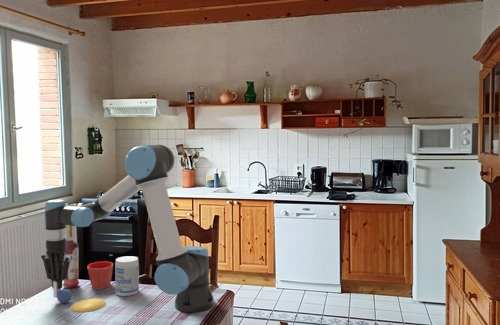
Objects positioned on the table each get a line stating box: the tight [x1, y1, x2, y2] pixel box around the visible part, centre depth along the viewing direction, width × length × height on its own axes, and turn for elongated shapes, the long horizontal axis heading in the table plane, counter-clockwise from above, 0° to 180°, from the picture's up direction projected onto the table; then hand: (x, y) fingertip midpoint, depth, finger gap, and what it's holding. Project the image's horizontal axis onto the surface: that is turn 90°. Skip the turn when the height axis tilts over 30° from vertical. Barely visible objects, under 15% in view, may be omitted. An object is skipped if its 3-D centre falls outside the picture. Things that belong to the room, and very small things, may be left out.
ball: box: [56, 288, 73, 304], centre depth 176 cm, size 6×6×6 cm
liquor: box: [62, 225, 80, 290], centre depth 194 cm, size 7×7×28 cm
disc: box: [70, 298, 107, 313], centre depth 173 cm, size 13×13×1 cm
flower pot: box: [86, 260, 114, 290], centre depth 195 cm, size 11×11×10 cm
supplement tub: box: [114, 255, 140, 297], centre depth 186 cm, size 10×10×15 cm
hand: (57, 296), depth 177 cm, fingers closed
